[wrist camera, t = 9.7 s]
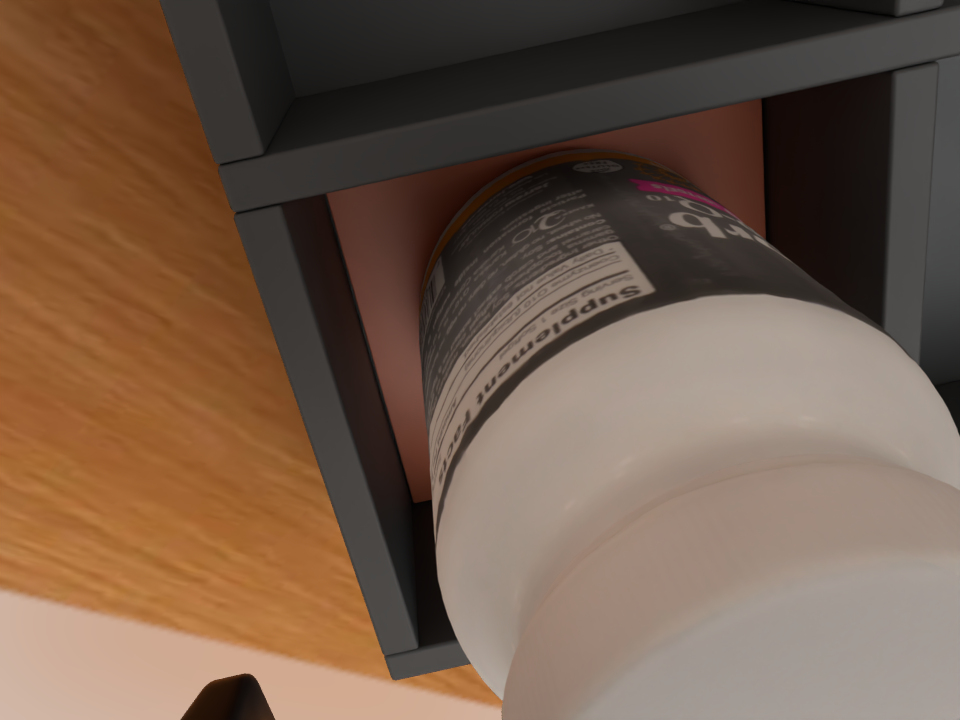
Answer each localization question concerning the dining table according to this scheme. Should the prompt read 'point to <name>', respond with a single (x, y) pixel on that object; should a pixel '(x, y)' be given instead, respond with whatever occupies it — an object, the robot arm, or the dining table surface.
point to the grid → (535, 133)
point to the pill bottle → (678, 464)
